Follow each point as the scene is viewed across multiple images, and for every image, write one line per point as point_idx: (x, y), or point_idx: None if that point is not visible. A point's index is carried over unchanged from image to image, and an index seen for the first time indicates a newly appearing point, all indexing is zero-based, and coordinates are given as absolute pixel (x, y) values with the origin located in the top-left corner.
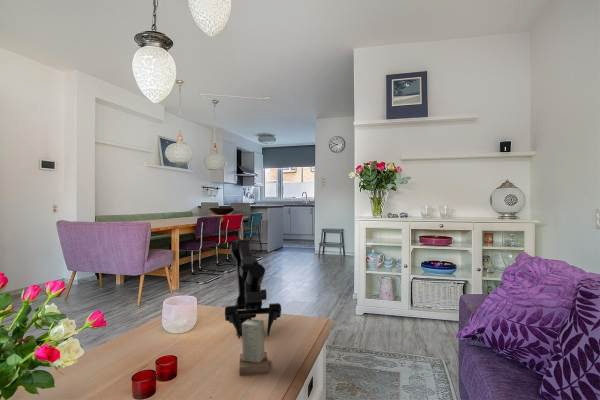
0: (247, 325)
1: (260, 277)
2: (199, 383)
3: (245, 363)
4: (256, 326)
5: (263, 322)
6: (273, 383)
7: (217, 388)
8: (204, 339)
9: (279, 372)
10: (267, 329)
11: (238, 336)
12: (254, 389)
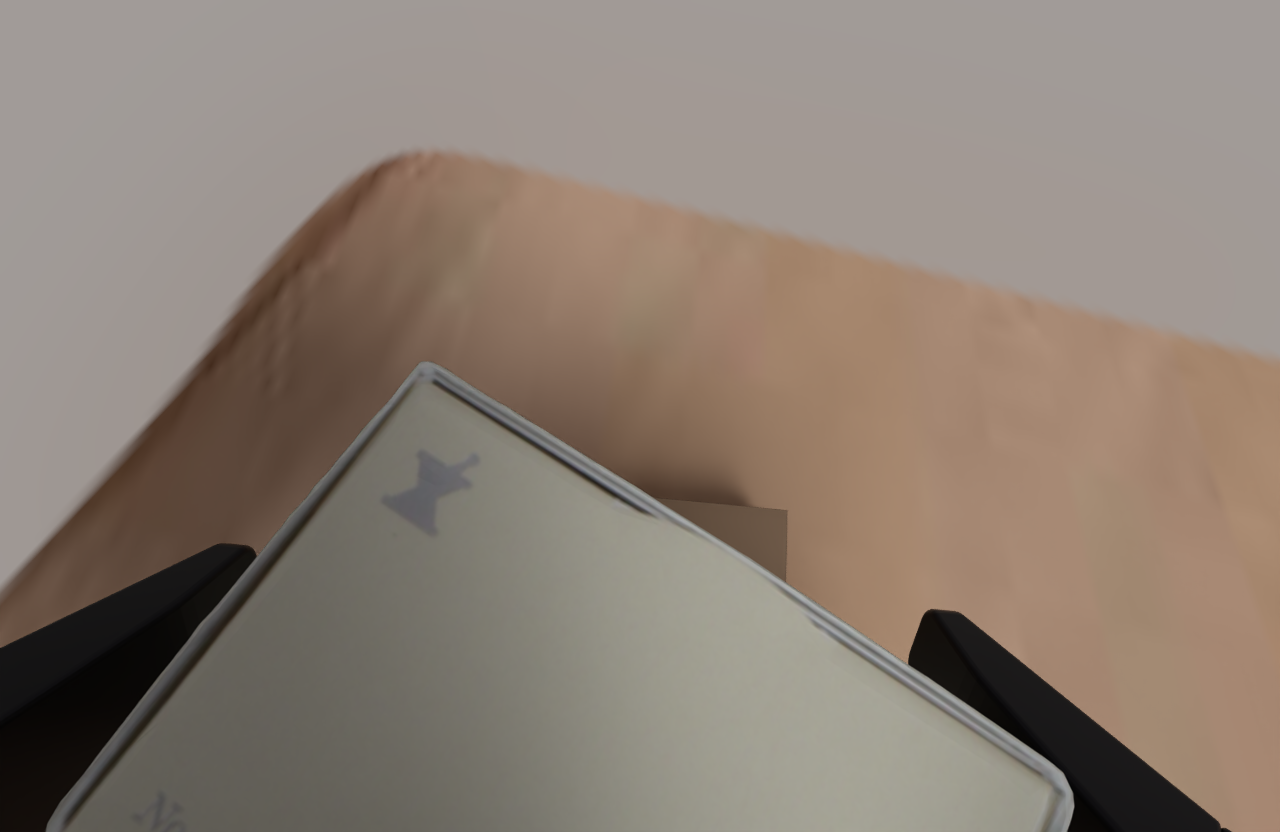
0: (817, 610)
1: None
2: (1151, 487)
3: None
4: (501, 416)
5: (117, 772)
6: (459, 303)
7: (965, 360)
8: None
9: None
10: (159, 613)
11: (967, 626)
12: (642, 263)
